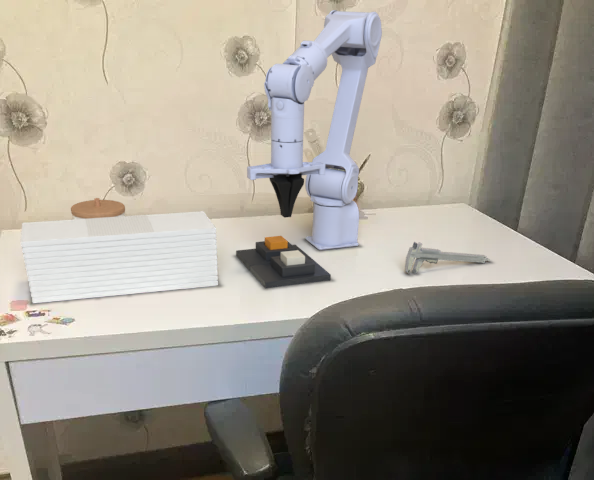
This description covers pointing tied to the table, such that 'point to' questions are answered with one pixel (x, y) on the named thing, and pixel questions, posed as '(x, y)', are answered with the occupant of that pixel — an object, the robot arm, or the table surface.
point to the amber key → (276, 242)
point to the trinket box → (97, 209)
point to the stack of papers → (119, 255)
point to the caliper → (436, 257)
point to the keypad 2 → (289, 273)
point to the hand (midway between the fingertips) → (285, 215)
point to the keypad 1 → (263, 254)
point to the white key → (292, 257)
